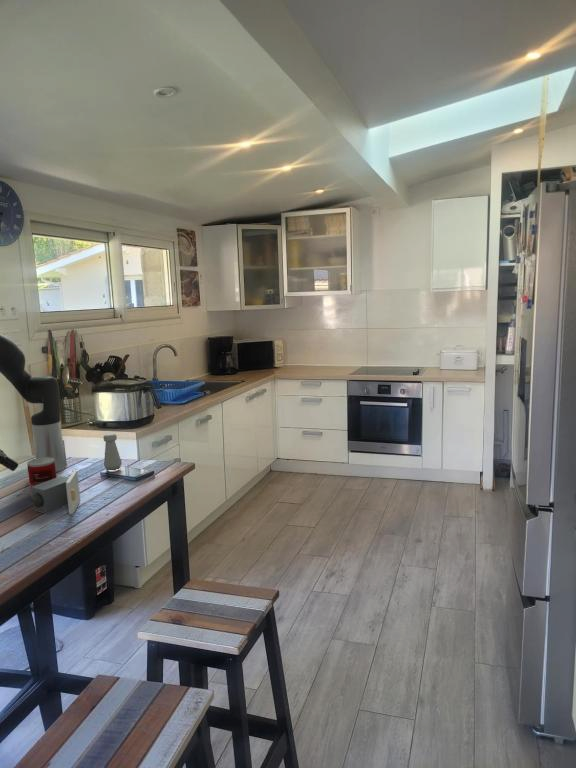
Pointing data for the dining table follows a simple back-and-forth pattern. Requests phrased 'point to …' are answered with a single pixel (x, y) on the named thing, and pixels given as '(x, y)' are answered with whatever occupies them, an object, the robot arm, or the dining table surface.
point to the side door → (73, 492)
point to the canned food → (41, 470)
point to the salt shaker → (111, 453)
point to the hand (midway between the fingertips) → (16, 467)
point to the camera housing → (50, 495)
